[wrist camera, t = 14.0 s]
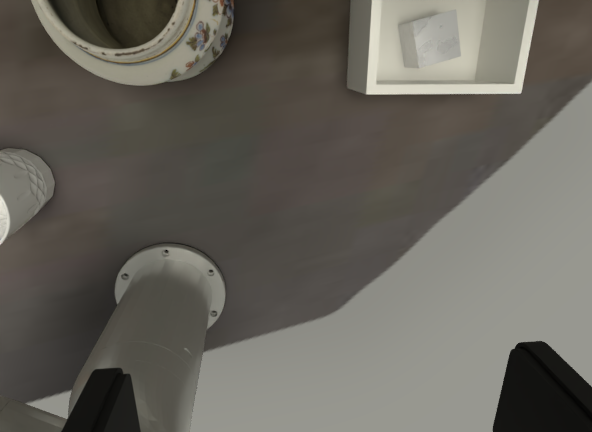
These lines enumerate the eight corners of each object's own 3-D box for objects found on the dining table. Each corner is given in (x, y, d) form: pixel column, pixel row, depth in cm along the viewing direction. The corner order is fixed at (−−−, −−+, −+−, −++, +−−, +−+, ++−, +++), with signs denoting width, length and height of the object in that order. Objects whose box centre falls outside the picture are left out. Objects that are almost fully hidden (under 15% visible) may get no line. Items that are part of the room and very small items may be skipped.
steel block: (442, 56, 42) (461, 56, 38) (404, 67, 42) (419, 68, 38) (437, 13, 40) (456, 9, 36) (397, 25, 40) (412, 21, 36)
